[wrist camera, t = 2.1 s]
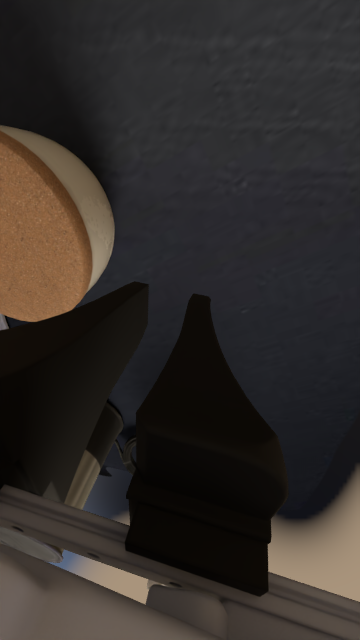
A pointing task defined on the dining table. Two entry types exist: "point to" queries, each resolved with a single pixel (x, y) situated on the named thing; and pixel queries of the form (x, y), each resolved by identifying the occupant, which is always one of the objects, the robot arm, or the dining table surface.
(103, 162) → the dining table surface
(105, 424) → the milk frother
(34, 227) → the trinket box
